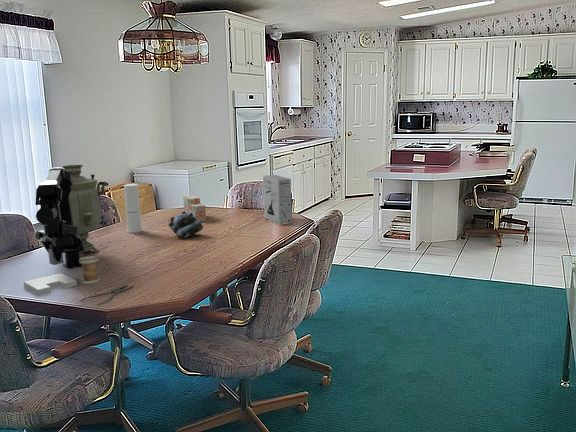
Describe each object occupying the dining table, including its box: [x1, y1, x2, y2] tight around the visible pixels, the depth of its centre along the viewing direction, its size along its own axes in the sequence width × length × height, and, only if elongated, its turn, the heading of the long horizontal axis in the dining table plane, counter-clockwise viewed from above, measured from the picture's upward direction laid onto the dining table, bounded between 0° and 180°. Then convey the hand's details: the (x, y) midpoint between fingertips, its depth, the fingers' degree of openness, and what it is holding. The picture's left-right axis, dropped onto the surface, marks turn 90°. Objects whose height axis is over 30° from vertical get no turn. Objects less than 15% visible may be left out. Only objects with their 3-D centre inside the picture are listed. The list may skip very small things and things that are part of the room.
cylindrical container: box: [123, 183, 142, 234], centre depth 299 cm, size 7×7×25 cm
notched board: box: [23, 272, 78, 296], centre depth 212 cm, size 14×14×2 cm
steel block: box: [47, 248, 65, 266], centre depth 206 cm, size 4×4×6 cm
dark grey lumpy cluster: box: [168, 211, 204, 240], centre depth 287 cm, size 15×12×14 cm
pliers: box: [80, 284, 134, 306], centre depth 201 cm, size 10×1×20 cm
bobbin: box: [79, 255, 101, 285], centre depth 215 cm, size 7×7×9 cm
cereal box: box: [262, 174, 293, 225], centre depth 317 cm, size 22×8×25 cm, turn 25°
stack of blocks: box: [183, 195, 207, 223], centre depth 330 cm, size 21×6×12 cm, turn 27°
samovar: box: [59, 164, 109, 255], centre depth 254 cm, size 30×26×40 cm
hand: (56, 260), depth 206 cm, fingers closed on steel block, 4 cm apart
